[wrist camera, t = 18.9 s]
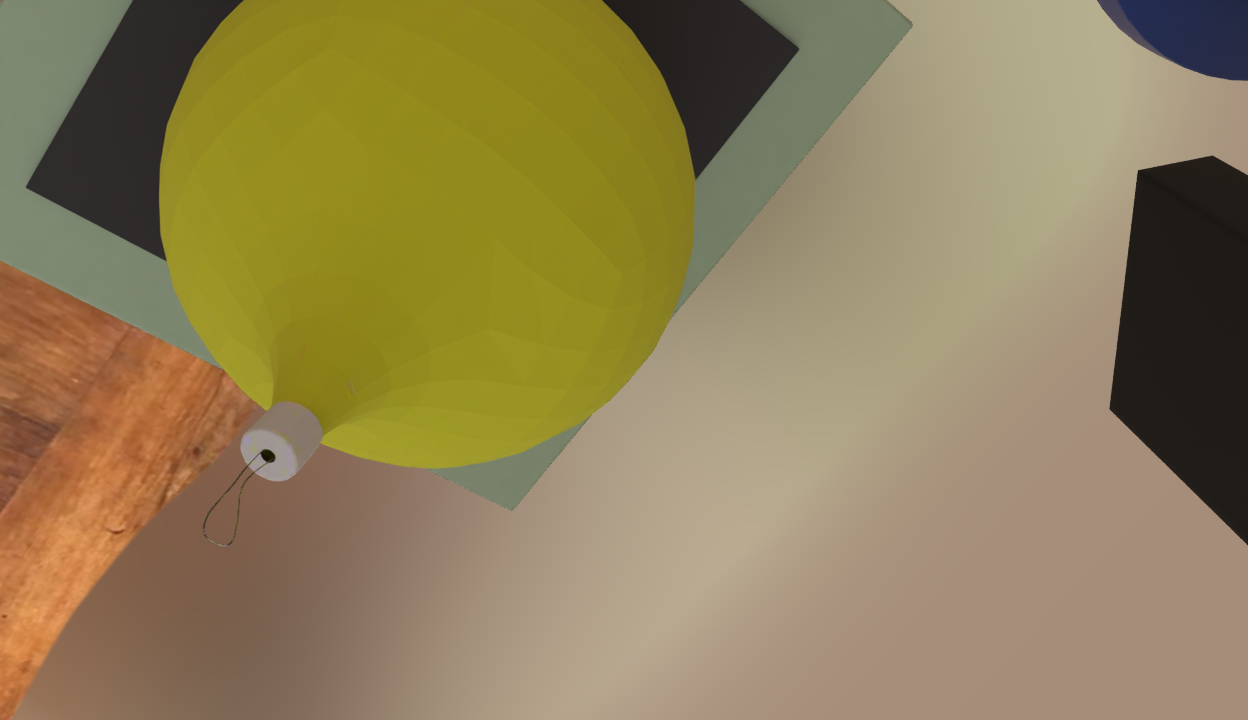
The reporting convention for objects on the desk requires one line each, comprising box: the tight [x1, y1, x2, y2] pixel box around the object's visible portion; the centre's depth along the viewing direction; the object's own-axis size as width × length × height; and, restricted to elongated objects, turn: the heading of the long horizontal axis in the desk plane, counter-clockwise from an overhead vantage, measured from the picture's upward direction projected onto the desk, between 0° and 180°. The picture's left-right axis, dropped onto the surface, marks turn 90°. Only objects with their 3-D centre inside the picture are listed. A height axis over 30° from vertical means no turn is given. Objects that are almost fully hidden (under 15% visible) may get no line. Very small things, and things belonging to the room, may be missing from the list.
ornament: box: [159, 0, 695, 546], centre depth 15 cm, size 7×7×10 cm
